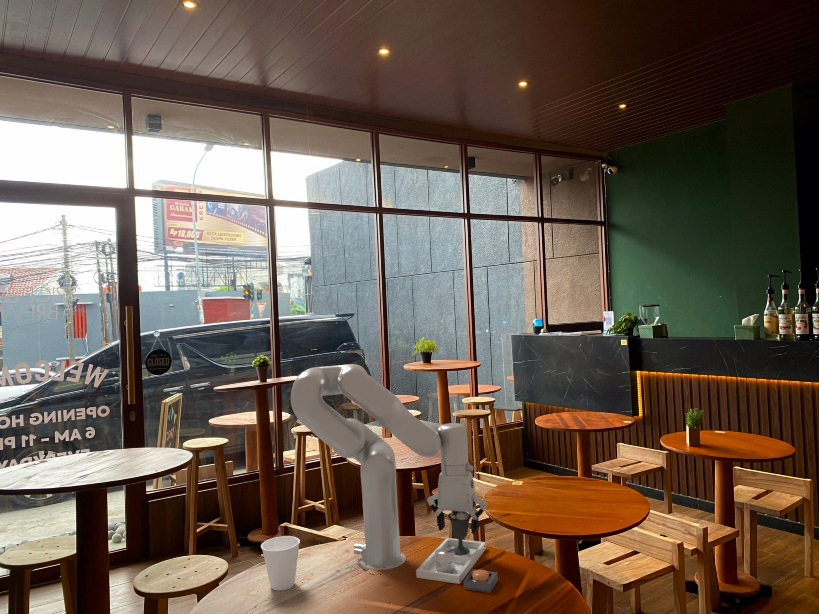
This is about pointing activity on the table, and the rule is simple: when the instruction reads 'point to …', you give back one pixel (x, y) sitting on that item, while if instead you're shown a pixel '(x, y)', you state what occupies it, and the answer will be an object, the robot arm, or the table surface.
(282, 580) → the cup
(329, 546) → the table surface
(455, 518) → the sundae
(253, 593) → the table surface
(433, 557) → the shallow white tray
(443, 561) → the cylinder
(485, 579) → the button cap
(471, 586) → the button housing
